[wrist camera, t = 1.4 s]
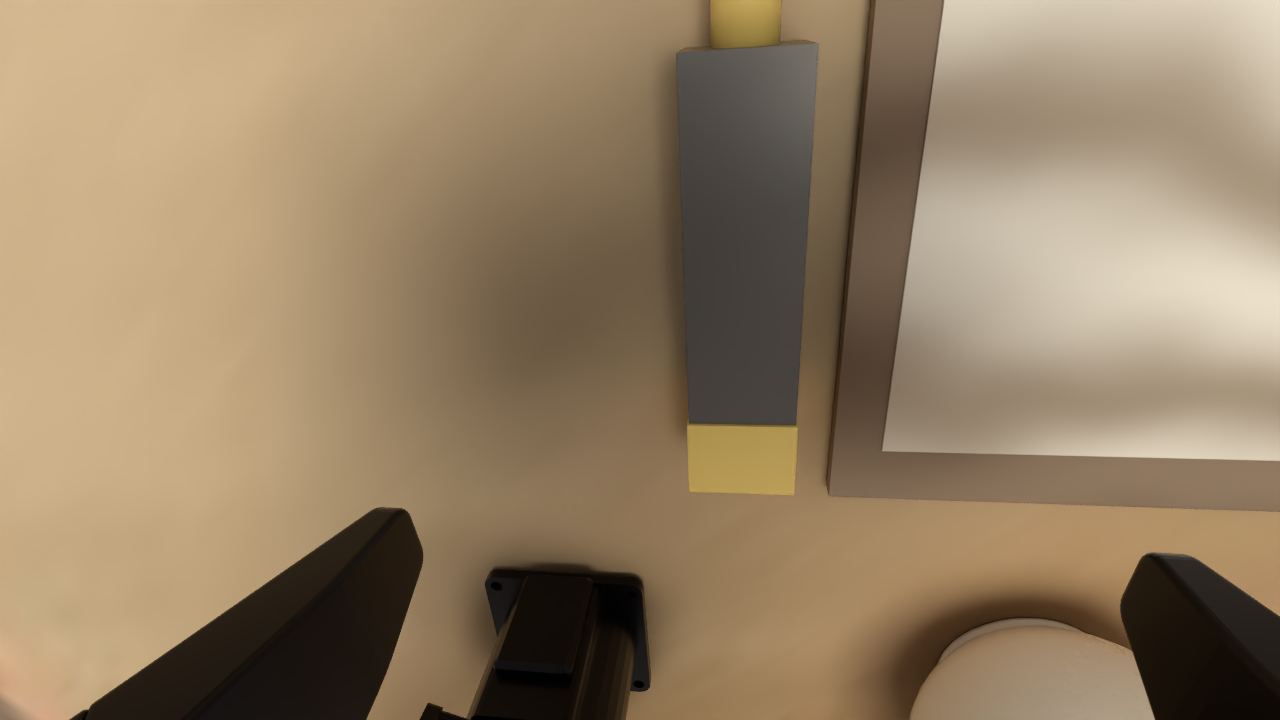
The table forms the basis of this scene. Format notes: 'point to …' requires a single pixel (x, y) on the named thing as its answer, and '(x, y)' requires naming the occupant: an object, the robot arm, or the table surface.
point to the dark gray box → (744, 244)
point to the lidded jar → (1032, 676)
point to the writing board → (1065, 256)
